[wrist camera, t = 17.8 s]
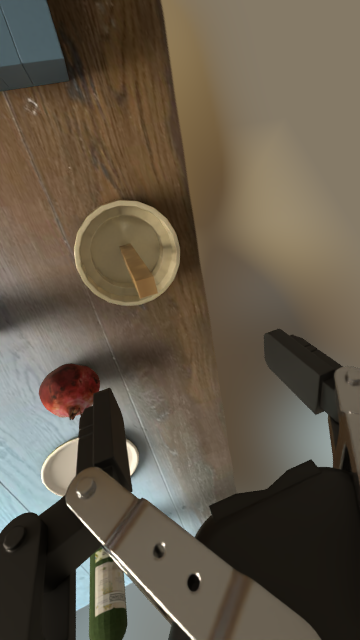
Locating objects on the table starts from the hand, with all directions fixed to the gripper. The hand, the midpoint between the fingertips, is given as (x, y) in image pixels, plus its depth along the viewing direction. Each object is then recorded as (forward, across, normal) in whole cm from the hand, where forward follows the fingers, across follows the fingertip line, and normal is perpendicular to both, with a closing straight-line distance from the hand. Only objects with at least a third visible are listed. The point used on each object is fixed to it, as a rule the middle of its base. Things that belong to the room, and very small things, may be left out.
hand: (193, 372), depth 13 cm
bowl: (+32, 0, 0) cm, 32 cm away
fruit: (+32, +16, +19) cm, 41 cm away
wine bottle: (+32, +27, +72) cm, 83 cm away
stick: (+31, 0, 0) cm, 31 cm away
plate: (+32, +21, +44) cm, 59 cm away
